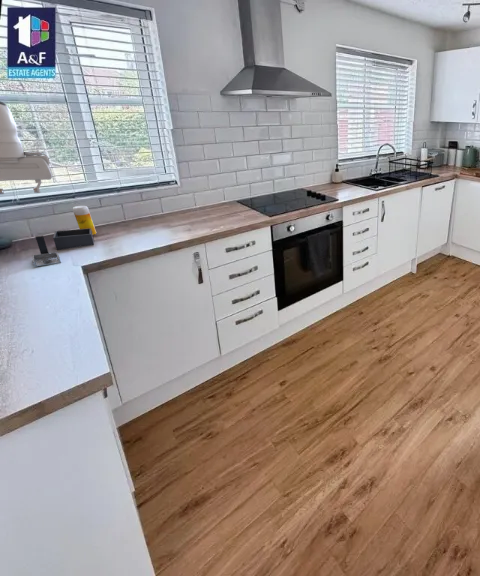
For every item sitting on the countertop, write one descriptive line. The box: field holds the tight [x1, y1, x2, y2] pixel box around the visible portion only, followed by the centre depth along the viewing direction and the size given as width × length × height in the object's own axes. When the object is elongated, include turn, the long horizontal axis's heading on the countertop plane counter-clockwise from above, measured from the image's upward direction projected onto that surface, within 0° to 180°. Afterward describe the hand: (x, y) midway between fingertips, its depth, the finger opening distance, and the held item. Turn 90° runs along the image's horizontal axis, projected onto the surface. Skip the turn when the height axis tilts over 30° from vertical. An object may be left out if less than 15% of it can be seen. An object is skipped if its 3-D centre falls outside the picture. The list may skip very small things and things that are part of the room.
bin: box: [52, 228, 95, 251], centre depth 169 cm, size 13×13×6 cm
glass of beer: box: [72, 205, 97, 236], centre depth 183 cm, size 6×6×15 cm
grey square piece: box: [31, 234, 62, 268], centre depth 149 cm, size 13×8×9 cm, turn 43°
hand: (19, 193), depth 129 cm, fingers open, 8 cm apart
